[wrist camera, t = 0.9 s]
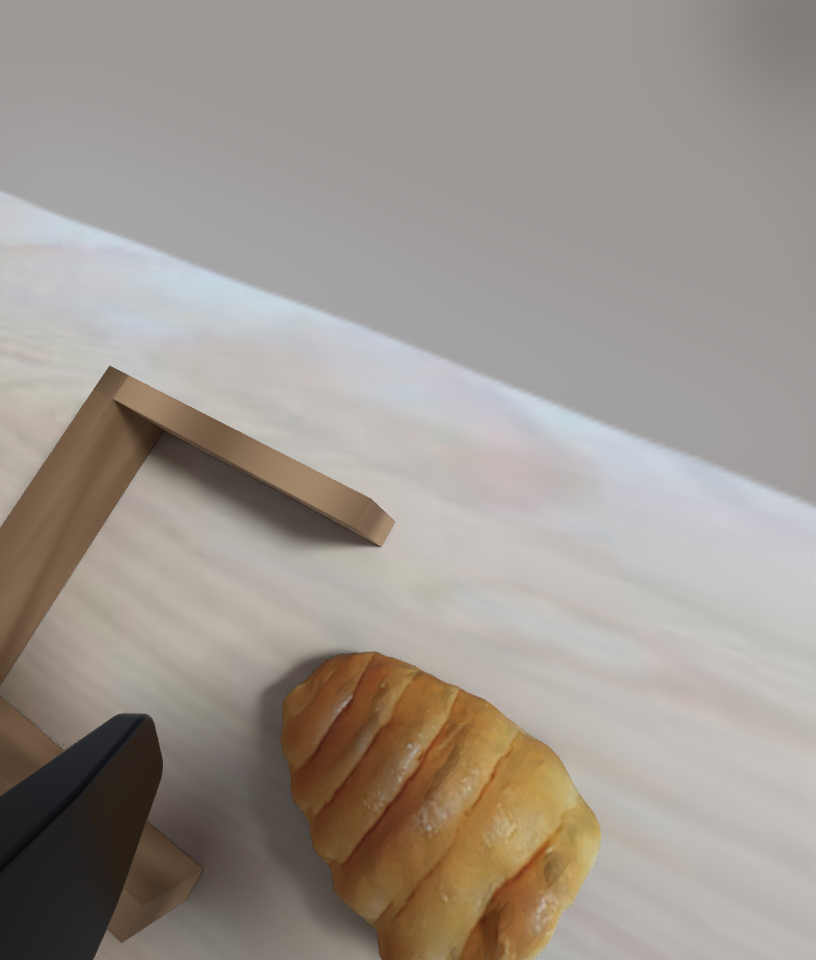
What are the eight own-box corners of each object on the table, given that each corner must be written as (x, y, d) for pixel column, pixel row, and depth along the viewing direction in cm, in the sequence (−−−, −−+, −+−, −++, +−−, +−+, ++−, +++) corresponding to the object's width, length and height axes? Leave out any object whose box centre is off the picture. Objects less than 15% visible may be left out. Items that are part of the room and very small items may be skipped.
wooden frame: (395, 521, 20) (371, 499, 18) (186, 900, 18) (121, 943, 15) (159, 399, 24) (109, 365, 21) (-37, 702, 22) (-122, 708, 19)
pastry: (253, 758, 19) (188, 779, 16) (384, 598, 20) (351, 583, 16) (476, 1012, 16) (458, 1110, 12) (624, 809, 17) (647, 848, 13)
